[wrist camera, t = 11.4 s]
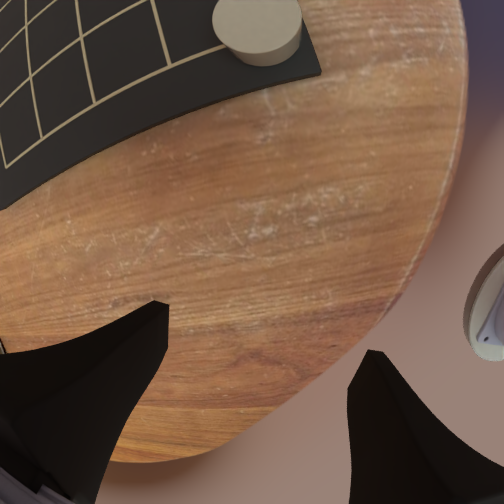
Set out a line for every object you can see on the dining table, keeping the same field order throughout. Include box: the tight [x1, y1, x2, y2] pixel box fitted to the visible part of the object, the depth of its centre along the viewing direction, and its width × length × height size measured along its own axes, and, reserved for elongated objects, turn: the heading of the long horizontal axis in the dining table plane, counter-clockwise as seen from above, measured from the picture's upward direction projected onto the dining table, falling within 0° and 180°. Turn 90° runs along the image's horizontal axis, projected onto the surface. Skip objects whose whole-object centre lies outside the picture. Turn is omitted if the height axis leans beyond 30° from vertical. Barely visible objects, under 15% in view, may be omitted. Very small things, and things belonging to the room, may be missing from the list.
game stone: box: [212, 0, 302, 66], centre depth 13 cm, size 4×4×3 cm
